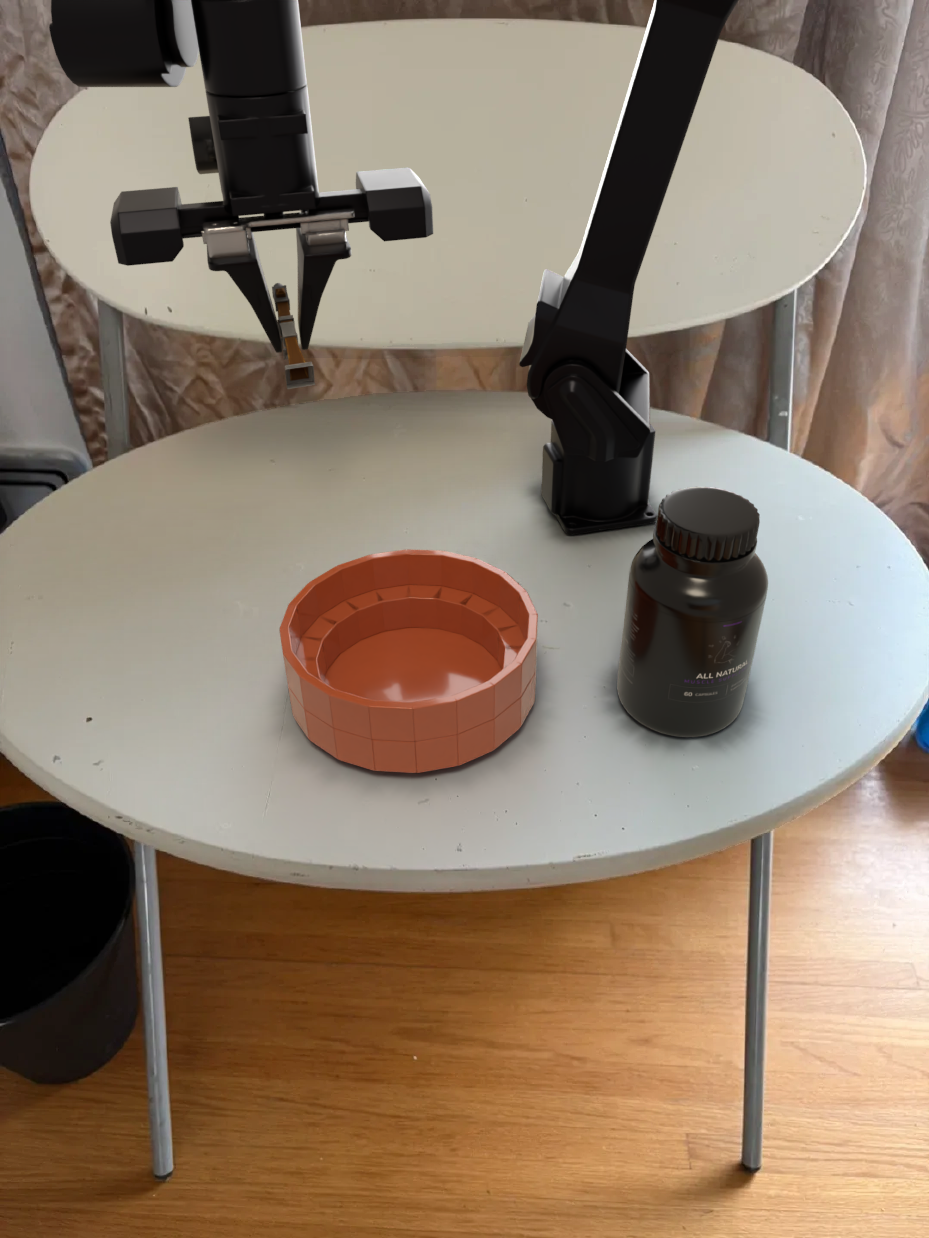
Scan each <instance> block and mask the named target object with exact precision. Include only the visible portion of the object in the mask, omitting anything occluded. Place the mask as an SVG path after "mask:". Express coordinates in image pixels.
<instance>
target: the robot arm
mask: <svg viewBox="0 0 929 1238" xmlns="http://www.w3.org/2000/svg"><path fill="white" fill-rule="evenodd" d="M739 1H740V0H654V1H653V4H652V8H651V11H650V15H649V18H648V22H647V25H646V28H645V30H644V31H645V32H644V35H643V38H642V41H641V44H640V48H639V51H638V54H637V59H636V61H635V64H634V68H633V71H632V75H631V78H630V81H629V84H628V88H627V91H626V95H625V98H624V101H623V103H622V104H623V105H622V108H621V111H620V115H619V117H618V121H617V125H616V128H615V131H614V134H613V137H612V141H611V145H610V148H609V151H608V156H607V157H606V162H605V165H604V168H603V171H602V173H601V174H602V175H601V177H600V181H599V184H598V188H597V191H596V195H595V198H594V201H593V205H592V208H591V211H590V214H589V218H588V221H587V224H586V227H585V231H584V235H583V237H582V241H581V244H580V247H579V250H578V252H577V254H576V256H575V257H574V259H573V261H572V263H571V264H570V266H569V267H568V268H567V271H566V272H565V274H564V276H563V275H561V274H558V273H556V272H555V271H552V270H550V269H548V268H545V269H544V270H543V274H542V279H541V282H540V286H539V292H538V296H537V300H536V308H535V313H534V314H533V316H532V317H531V318H530V319H529V321H528V322H527V328H526V332H525V336H524V340H523V345H522V349H521V350H522V351H521V355H520V359H519V363H518V365H519V367H521V368H525V367H528V372H527V377H526V378H527V379H526V389H527V395H528V397H529V398H530V400H531V401H532V403H533V405H534V406H535V407H536V409H537V410H538V411H539V412H541V413H542V415H544V416H545V417H546V418H548V419H550V420H551V422H550V429H551V430H550V442H545V443H544V445H543V446H542V461H541V462H542V465H541V467H542V468H541V486H540V489H541V497H542V498H543V500H544V502H545V504H546V507H548V509H549V511H550V513H551V514H553V515H554V516H555V518H556V520H557V521H558V523H559V524H560V526H561V528H562V530H563V531H564V533H565V534H568V535H578V534H586V533H593V532H599V531H605V530H607V531H608V530H612V529H622V528H628V527H637V526H641V525H642V526H643V525H648V524H649V525H650V524H655V523H656V522H657V516H658V512H656V511H655V509H654V507H653V506H652V505H651V503H650V502H649V499H650V488H651V477H652V468H653V461H654V460H653V459H654V451H655V441H656V431H657V430H656V429H655V428H654V426H653V425H652V424H651V384H650V383H651V381H650V380H651V379H650V378H651V377H650V376H651V375H650V372H649V371H648V369H646V367H645V366H644V365H643V364H642V363H641V362H640V361H639V360H638V359H637V358H636V357H635V356H634V355H633V354H632V353H631V352H630V351H629V350H628V349H627V345H628V338H629V328H630V322H631V315H632V308H633V307H632V306H633V300H634V292H635V285H636V282H637V279H638V276H639V273H640V271H641V267H642V264H643V261H644V258H645V255H646V252H647V249H648V247H649V244H650V240H651V238H652V236H653V232H654V230H655V226H656V223H657V221H658V217H659V214H660V211H661V208H662V206H663V203H664V200H665V197H666V194H667V190H668V188H669V185H670V183H671V179H672V177H673V173H674V171H675V168H676V164H677V161H678V159H679V156H680V152H681V150H682V148H683V145H684V141H685V138H686V136H687V132H688V131H689V127H690V123H691V122H692V118H693V115H694V111H695V109H696V106H697V103H698V100H699V97H700V95H701V92H702V88H703V85H704V83H705V79H706V77H707V74H708V70H709V68H710V65H711V62H712V59H713V57H714V54H715V50H716V47H717V45H718V41H719V39H720V35H721V34H722V31H723V28H724V26H726V25H725V24H726V23H727V21H728V19H729V17H730V15H731V14H732V12H733V11H734V9H735V8H736V6H737V5H738V2H739ZM50 15H51V23H49V26H48V27H49V28H48V29H49V34H50V38H51V43H52V46H53V49H54V53H55V56H56V58H57V61H58V63H59V65H60V66H61V69H62V70H63V72H64V74H65V76H66V78H68V80H69V81H70V82H72V84H74V85H75V86H77V87H79V88H177V87H179V86H180V85H181V83H182V82H183V80H184V78H185V75H186V72H187V68H192V67H195V65H196V64H197V61H198V58H199V61H200V66H201V71H202V72H201V73H202V78H203V84H204V89H205V96H206V102H207V103H206V104H207V108H208V115H202V116H201V115H200V116H190V117H187V118H188V125H189V132H190V140H191V146H192V151H193V158H194V163H195V170H196V171H197V173H198V174H199V175H208V174H209V175H210V174H218V178H219V179H218V180H219V185H220V191H221V196H222V200H215V201H206V202H193V203H183V204H182V198H181V194H180V191H179V186H171V187H160V188H147V189H135V190H125V191H124V190H123V191H120V193H119V195H118V196H117V197H116V199H115V201H114V202H113V206H112V211H111V216H110V220H109V224H110V230H111V237H112V242H113V246H114V250H115V255H116V259H117V263H118V264H119V265H124V266H127V267H129V266H130V267H131V266H139V265H149V264H159V263H162V264H163V263H171V262H173V261H174V260H175V259H176V258H177V256H178V255H179V254H180V253H181V251H182V250H183V248H184V246H185V244H184V239H190V238H191V239H194V238H201V239H202V243H203V245H206V257H207V258H206V259H207V267H208V270H210V271H211V272H226V273H227V274H228V276H229V277H230V278H231V280H232V282H233V283H234V284H235V285H236V287H237V288H238V289H239V291H240V292H241V294H242V295H243V296H244V298H245V299H246V300H247V302H248V303H249V305H250V307H251V308H252V310H253V312H254V314H255V316H256V317H257V320H258V321H259V323H260V326H262V328H263V331H264V332H265V334H266V336H267V338H268V340H269V342H270V344H271V346H272V348H273V349H274V351H275V353H277V354H279V353H283V349H282V346H281V339H280V333H279V327H278V322H277V320H278V317H277V315H276V310H275V308H274V304H273V300H272V297H271V293H270V290H269V286H268V283H267V279H266V276H265V272H264V269H263V265H262V262H261V259H260V254H259V251H258V247H257V243H256V242H257V241H256V238H255V235H254V233H258V232H270V231H280V230H293V229H295V236H296V237H295V238H296V253H297V255H296V256H297V327H298V328H297V329H298V335H299V341H300V347H301V348H300V349H301V350H302V351H307V350H308V349H309V346H310V343H311V339H312V335H313V332H314V327H315V322H316V318H317V316H318V312H319V307H320V304H321V300H322V297H323V294H324V291H325V289H326V287H327V284H328V282H329V279H330V277H331V275H332V272H333V270H334V268H335V265H336V263H337V261H339V260H347V259H349V258H351V257H352V256H353V255H352V247H351V244H350V242H349V239H348V236H347V233H346V232H349V231H350V228H349V227H350V226H349V224H357V223H368V227H369V230H370V231H371V232H372V233H374V234H375V235H376V236H377V237H378V238H379V239H381V240H382V241H383V242H395V241H403V240H413V239H414V240H415V239H424V238H428V237H429V236H432V235H434V217H433V203H432V198H431V194H430V192H429V190H428V188H427V187H426V185H425V184H424V183H423V181H422V180H421V178H420V177H419V176H418V175H417V173H415V171H414V170H412V169H411V168H410V167H396V168H386V169H373V170H362V171H355V189H343V190H332V191H320V190H319V181H318V171H317V163H316V153H315V152H316V151H315V143H314V135H313V127H312V125H313V124H312V117H311V108H310V107H311V106H310V98H309V97H310V96H309V89H308V88H309V87H308V80H307V71H306V61H305V53H304V43H303V34H302V25H301V14H300V4H299V0H50Z"/></svg>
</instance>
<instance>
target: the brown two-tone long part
mask: <svg viewBox="0 0 929 1238" xmlns="http://www.w3.org/2000/svg"><path fill="white" fill-rule="evenodd" d="M271 291H272V299H273V302H274V306H275V313H276V312H277V322H278V327H279V333H280V339H281V346H282V354H283V360H287V361H288V364H286V365H284V373H285V381H286V382H285V383H286V390H291V389H296V388H298V389H299V388H304V387H311V386H316V380H315V379H316V378H315V366H314V364H313V361H307V360H305V357H304V356H303V353H302V351H301V350H302V349H301V348H300V345H299V336H298V335H299V334H298V333H297V330H296V323H295V318H294V315H293V314H292V313H291V301H290V298H289V294H288V289H287V285H286V284H284V285H283V284H282V283H280V282H275V283H274V285H273V286H271ZM306 361H307V362H306Z"/></svg>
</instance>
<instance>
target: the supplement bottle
mask: <svg viewBox="0 0 929 1238" xmlns="http://www.w3.org/2000/svg"><path fill="white" fill-rule="evenodd" d="M760 518H761V517H760V513H759V511H758V508H757V507H756V506H755V504H754V503H752V502H750V500H749V499H748V498H745V497H743V495H742V494H737V493H736V492H734V491H730V490H727V489H724V488H718V487H710V486H693V487H690V486H687V487H685V488H678V489H677V490H672V491H671V492H670V493H668V494H666V495H665V497H663V498H661V502H659V504H658V509H657V520H656V522H655V523H654V527H653V534H652V538H651V539H649V540H648V541H646V542H645V543H644V544H643V545H642V546H641V547H640V548H639V549H638V551H637V552H636V553H635V554H634V557H633V558H632V561H631V564H630V568H629V574H628V575H629V576H628V583H627V592H626V600H625V608H624V618H623V625H622V626H623V627H622V635H621V642H620V651H619V661H618V671H617V679H616V680H617V681H616V688H617V689H616V691H617V695H618V698H619V701H620V703H621V705H622V706H623V708H624V709H625V711H626V712H627V713H628V714H629V715H630V716H631V717H632V718H633V719H634V720H635V721H636V722H638V723H639V724H641V725H643V727H646V728H648V729H649V730H651V731H653V732H654V731H655V732H657V733H660V734H663V735H667V736H672V737H680V738H700V737H705V736H708V735H712V734H715V733H717V732H719V731H721V730H724V729H725V728H727V727H728V726H730V725H731V724H732V723H733V722H734V721H735V720H736V719H737V718H738V716H739V714H740V712H741V711H742V708H743V705H744V701H745V697H746V692H747V688H748V685H749V679H750V675H751V671H752V670H751V669H752V666H753V661H754V656H755V651H756V647H757V642H758V637H759V633H760V628H761V624H762V619H763V616H764V615H763V614H764V609H765V605H766V600H767V595H768V590H769V589H768V588H769V576H768V572H767V569H766V566H765V565H764V563H763V561H762V559H761V558H760V557H759V556H758V554H757V553H756V550H757V547H758V546H757V545H758V534H759V529H760V523H761V522H760Z"/></svg>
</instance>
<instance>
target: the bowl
mask: <svg viewBox="0 0 929 1238" xmlns="http://www.w3.org/2000/svg"><path fill="white" fill-rule="evenodd" d="M538 625H539V613H538V612H537V610H536V607H535V605H534V603H533V601H532V598H531V597H530V594H529V592H528V591H527V589H526V588H525V587H523V586H522V585H521V584H520V583H519V582H518V581H517V580H515V579H514V578H513V577H512V576H511V575H510V574H509V573H508V572H506V571H505V570H502V569H501V568H498V567H496V566H494V565H492V564H490V563H489V562H485V561H484V560H482V559H479V558H477V557H473V556H468V555H465V554H460V553H456V552H451V551H447V550H441V549H439V550H438V549H436V550H435V549H412V548H406V549H398V550H391V551H384V552H377V553H371V554H367V555H364V556H361V557H358V558H355V559H352V560H348V561H346V562H343V563H341V564H337V565H335V566H333V567H332V568H330V569H328V570H327V571H324V572H323V573H322V574H320V575H319V576H317V577H314V579H312V580H310V581H309V582H307V583H306V584H305V586H304V587H303V588H302V589H301V590H300V591H299V592H298V593H297V595H296V596H294V598H292V600H290V601H289V603H288V604H287V608H286V610H285V612H284V615H283V618H282V620H281V623H280V626H279V637H280V644H281V651H282V657H283V664H284V670H285V676H286V682H287V686H288V695H289V700H290V707H291V713H292V717H293V719H294V720H295V722H296V724H298V726H299V728H300V729H301V730H302V731H303V734H304V735H305V736H306V738H307V739H308V741H310V742H311V743H312V744H314V745H315V746H317V747H319V748H320V749H322V750H323V751H324V752H326V753H327V754H329V755H331V756H332V757H333V758H335V759H337V760H338V761H341V762H345V763H347V764H351V765H354V766H356V767H361V768H364V769H367V770H370V771H374V772H375V771H376V772H391V773H406V774H409V773H410V774H416V773H417V774H419V773H425V772H431V771H436V770H442V769H443V770H444V769H448V768H453V767H459V766H462V765H464V764H466V763H469V762H471V761H473V760H476V759H478V758H480V757H482V756H484V755H486V754H490V753H491V752H494V751H495V750H496V749H497V748H499V747H500V746H501V745H502V744H503V743H504V742H506V741H507V740H508V739H510V737H512V736H513V735H514V734H515V733H516V732H517V731H519V730H520V729H521V727H522V725H523V724H524V722H525V721H526V718H527V716H528V715H529V713H530V711H531V710H532V707H533V706H534V704H535V702H536V688H537V687H536V685H537V684H536V683H537V662H538V661H537V660H538V631H539V630H538V629H539V628H538V627H539V626H538Z"/></svg>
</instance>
